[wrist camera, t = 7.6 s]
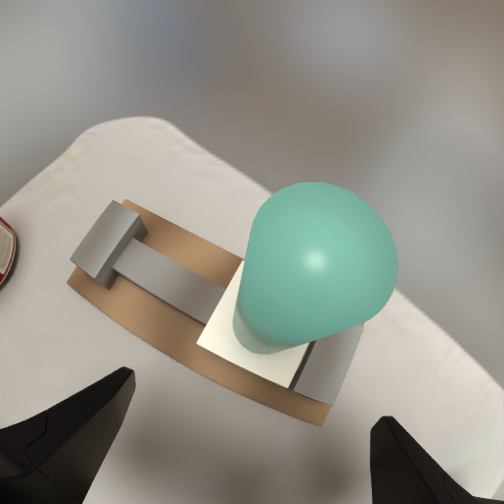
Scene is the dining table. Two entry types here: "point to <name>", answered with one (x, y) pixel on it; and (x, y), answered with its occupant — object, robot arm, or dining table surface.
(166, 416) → the dining table surface
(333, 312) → the carriage
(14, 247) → the soda can
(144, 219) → the rail
